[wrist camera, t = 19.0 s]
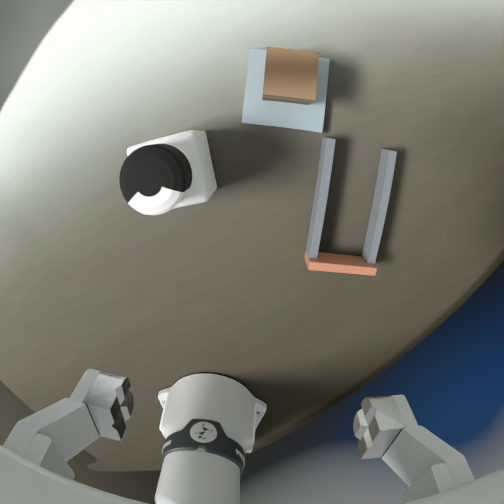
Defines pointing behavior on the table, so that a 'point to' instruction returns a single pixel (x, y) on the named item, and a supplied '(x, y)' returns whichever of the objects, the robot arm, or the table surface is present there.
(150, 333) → the table surface
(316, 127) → the tile
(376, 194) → the channel
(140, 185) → the medicine bottle
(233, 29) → the table surface
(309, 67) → the block
